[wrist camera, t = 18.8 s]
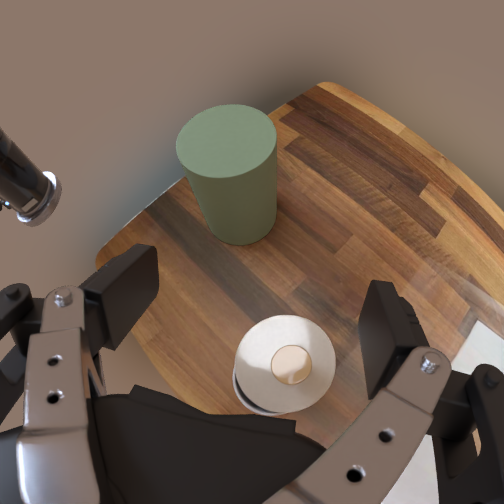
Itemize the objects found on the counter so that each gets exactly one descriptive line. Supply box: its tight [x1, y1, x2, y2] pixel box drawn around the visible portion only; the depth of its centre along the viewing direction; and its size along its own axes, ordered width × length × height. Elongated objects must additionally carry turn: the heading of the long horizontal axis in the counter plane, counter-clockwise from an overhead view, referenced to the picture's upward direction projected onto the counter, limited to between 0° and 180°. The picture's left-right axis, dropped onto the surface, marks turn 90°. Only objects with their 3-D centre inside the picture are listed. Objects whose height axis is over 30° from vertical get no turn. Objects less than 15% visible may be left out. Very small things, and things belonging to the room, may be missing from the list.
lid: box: [235, 315, 336, 413], centre depth 20 cm, size 8×8×8 cm
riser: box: [176, 104, 277, 245], centre depth 35 cm, size 10×10×16 cm
